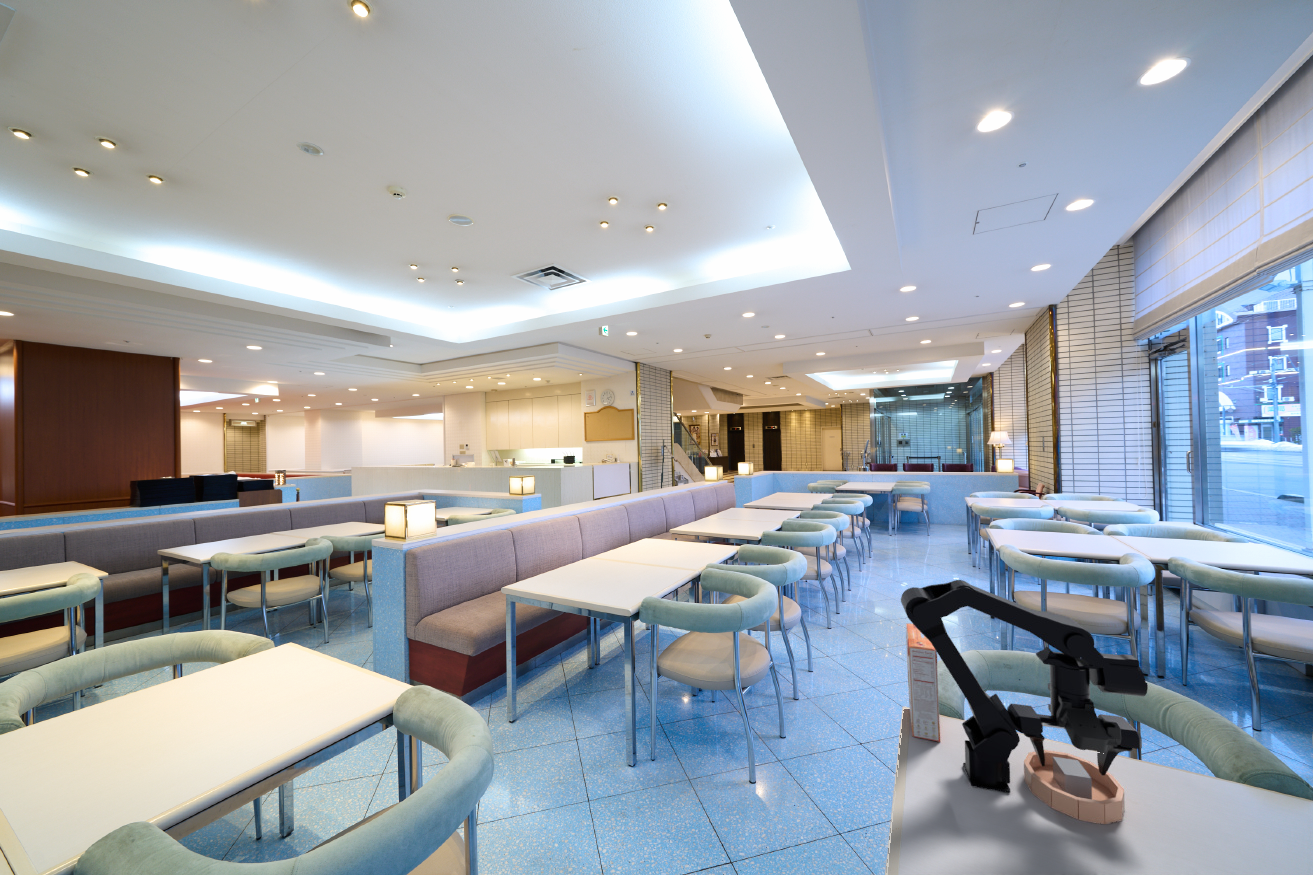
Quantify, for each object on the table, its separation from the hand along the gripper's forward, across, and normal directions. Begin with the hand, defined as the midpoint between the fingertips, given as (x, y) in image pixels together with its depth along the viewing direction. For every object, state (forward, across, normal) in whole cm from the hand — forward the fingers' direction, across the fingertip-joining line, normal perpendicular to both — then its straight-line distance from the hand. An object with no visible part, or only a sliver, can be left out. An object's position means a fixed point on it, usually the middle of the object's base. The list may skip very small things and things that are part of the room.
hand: (1071, 769), depth 92 cm
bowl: (+4, 0, 0) cm, 4 cm away
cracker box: (+5, -22, +17) cm, 28 cm away
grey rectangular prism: (+4, 0, 0) cm, 4 cm away
